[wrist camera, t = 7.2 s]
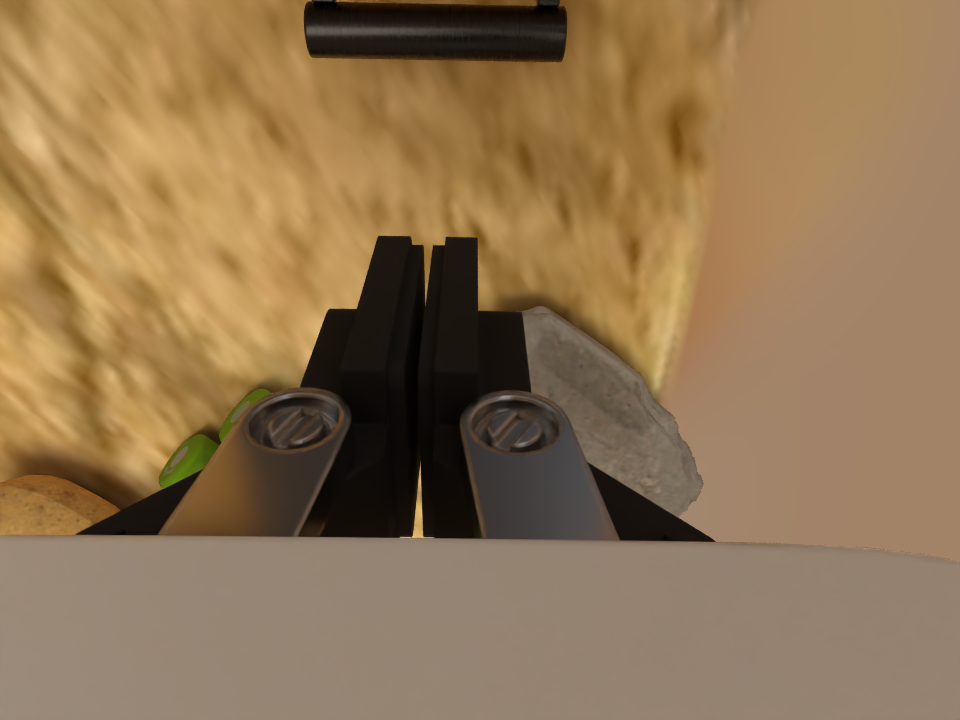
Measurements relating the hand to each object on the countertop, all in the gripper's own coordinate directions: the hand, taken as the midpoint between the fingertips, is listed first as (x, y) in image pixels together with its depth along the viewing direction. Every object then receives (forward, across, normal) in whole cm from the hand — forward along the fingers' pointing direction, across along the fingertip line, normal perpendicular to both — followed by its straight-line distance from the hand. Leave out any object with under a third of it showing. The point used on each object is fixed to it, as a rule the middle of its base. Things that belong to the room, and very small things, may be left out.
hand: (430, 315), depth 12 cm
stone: (+14, -2, +19) cm, 24 cm away
